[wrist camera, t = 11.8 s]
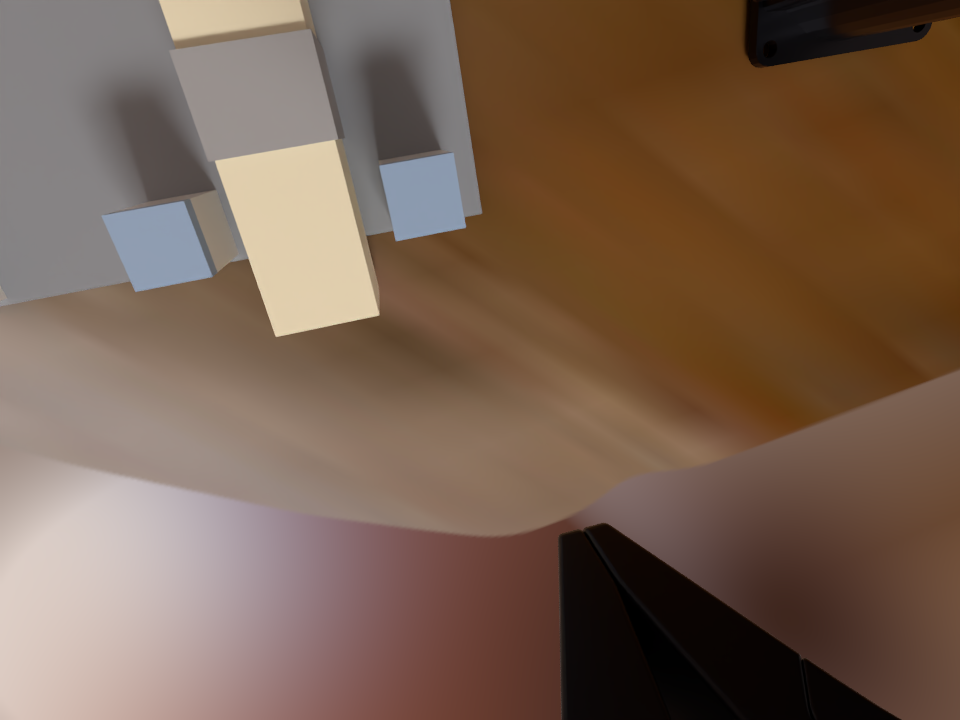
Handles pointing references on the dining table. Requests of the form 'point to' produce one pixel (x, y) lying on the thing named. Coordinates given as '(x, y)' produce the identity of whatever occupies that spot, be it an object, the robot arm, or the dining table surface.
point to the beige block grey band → (277, 154)
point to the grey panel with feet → (177, 146)
